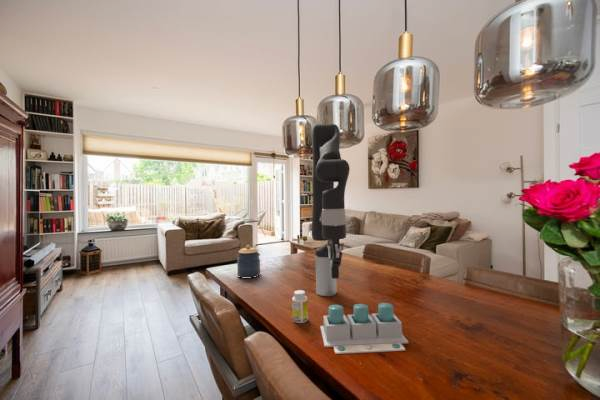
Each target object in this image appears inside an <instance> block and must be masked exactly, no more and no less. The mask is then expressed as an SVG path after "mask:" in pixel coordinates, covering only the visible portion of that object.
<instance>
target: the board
mask: <svg viewBox="0 0 600 400" xmlns="http://www.w3.org/2000/svg"><path fill="white" fill-rule="evenodd" d="M368 315H369V323H355V322H354V313H353V314H347V316H346V315H345V314H343V323H344V324H330V325H329V315H323V325H320V326H319V328H320V332H321V337H322V340H323V346H324V347H325V348H333V346H348V345H369V344H390V343H401V344H402V345H403V344H409V340H408V339H407V338H406V337H405V336H404V334H403V325H402V324H403V323H402V321H401V320H400V319H399V318H398V317H397V316H396V314H394V322H380V321H379V318H378V312H377V313H371V314H370V313H368Z"/></svg>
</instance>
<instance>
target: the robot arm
mask: <svg viewBox="0 0 600 400" xmlns="http://www.w3.org/2000/svg"><path fill="white" fill-rule="evenodd" d="M340 138H341V136H340V128H339V126H338V125H337V124H335V123H322V124H321V123H315V124H314V125H313V126H312V129H311V142H312V143H311V145H312V146H311V147H312V185H311V186H312V218H311V237H312V240H313V241H319V242H320V241H325V242H326V241H327V242H326V243H325V244H324V245H321V246H319V247H317V248H316V249H315V285H316V286H315V287H316V288H315V290H316V294H317V295H319V296H321V297H331V296H332V297H333V296H335V295H336V294H337V279H339V277H340V267H341V265H342V263H341V262H342V258H343V252H342V248H343V247H342V244H341V243H340V240H344V239H346V237H347V219H346V209H345V207H346V206H345V193H346V188H347V183H348V179H349V175H350V164H349V162H348V161H347V160H346V159H342V157H341V152H340V141H341V140H340ZM335 183H337V186H335Z"/></svg>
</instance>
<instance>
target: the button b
mask: <svg viewBox="0 0 600 400" xmlns="http://www.w3.org/2000/svg"><path fill="white" fill-rule="evenodd" d="M353 314H354V322H355V323H369V315H368V314H369V306H368V305H367V304H366V303H365V304H364V303H356V304H354V305H353Z"/></svg>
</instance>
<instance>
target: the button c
mask: <svg viewBox="0 0 600 400" xmlns="http://www.w3.org/2000/svg"><path fill="white" fill-rule="evenodd" d="M377 308H378V310H377V311H378V312H377V313H378V318H379V321H380V322H394V315H395V314H394V305H393V304H392V303H388V302H380V303H378V306H377Z"/></svg>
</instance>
